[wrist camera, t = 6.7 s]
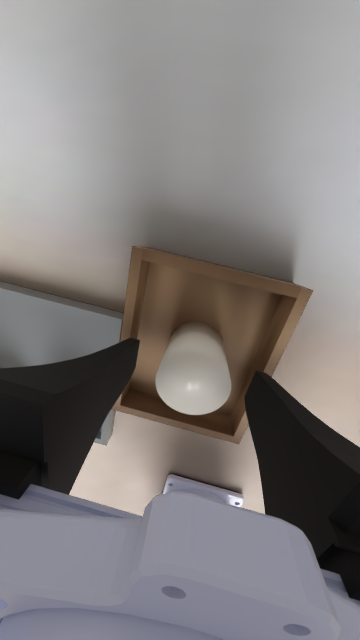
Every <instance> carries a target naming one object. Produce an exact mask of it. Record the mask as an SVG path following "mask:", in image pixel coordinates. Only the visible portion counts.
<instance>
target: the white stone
mask: <svg viewBox="0 0 360 640" xmlns="http://www.w3.org/2000/svg"><path fill="white" fill-rule="evenodd" d="M155 383H156V389H157V392H158V394H159V396H160V397H161V399H162V400H163V401H164V402H165V403H166V404H167V405H168V406H169V407H171V408H172V409H174V410H176V411H178V412H181V413H184V414H189V415H202V414H207V413H211V412H213V411H215V410H217V409H218V408H220V407H221V406H222V405H223V404H224V403H225V402H226V401H227V399H228V397H229V395H230V392H231V379H230V374H229V369H228V364H227V360H226V355H225V350H224V345H223V341H222V338H221V336H220V334H219V333H218V331H217V330H216V329H215V328H214V327H212V326H211V325H209V324H206V323H204V322H198V321H192V322H187V323H184V324H182V325H180V326H179V327H178V328H176V329H175V330H174V332H173V333H172V335H171V337H170V340H169V342H168V345H167V348H166V350H165V353H164V355H163V358H162V361H161V363H160V366H159V369H158V371H157V374H156V379H155Z"/></svg>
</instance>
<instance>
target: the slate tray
mask: <svg viewBox="0 0 360 640" xmlns="http://www.w3.org/2000/svg"><path fill="white" fill-rule="evenodd" d="M123 316H124V313H122V312H118V311H114V310H110V309H106V308H102V307H98V306H94V305H91V304H87V303H83V302H79V301H75V300H71V299H67V298H63V297H60V296H56V295H52V294H48V293H44V292H40V291H36V290H32V289H28V288H25V287H21V286H17V285H13V284H9V283H5V282H1V281H0V368H13V367H27V366H36V365H44V364H50V363H56V362H61V361H66V360H71V359H75V358H79V357H82V356H86V355H89V354H92V353H95V352H97V351H100V350H103V349H105V348H108V347H110V346H112V345H115V344H117V343H119V342H120V340H121V332H122V324H123ZM114 415H115V410H113V409H111V410H110V412H109V414H108V415H107V417H106V419H105V421H104V423H103V425H102V427H101V429H100V430H99V432H98V434H97V436H96V438H95V440H94V442H95V443H99V444H103V445H107V443H108V441H109V439H110V437H111V435H112V430H113V423H114Z"/></svg>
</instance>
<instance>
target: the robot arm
mask: <svg viewBox="0 0 360 640" xmlns="http://www.w3.org/2000/svg"><path fill="white" fill-rule="evenodd" d="M139 344H140V340H138V339H134V338H128V339H126V340H124V341H121V342H119V343H117V344H115V345H112V346H110V347H108V348H105V349H103V350H100V351H97V352H95V353H92V354H89V355H86V356H82V357H79V358H75V359H71V360H66V361H61V362H56V363H50V364H44V365H36V366H27V367H13V368H0V640H360V447H358V446H357V445H355V444H354V443H352V442H351V441H349V440H348V439H346V438H345V437H343V436H342V435H340V434H339V433H337V432H336V431H334V430H333V429H332V428H330V427H329V426H328V425H326V424H325V423H324V422H322V421H321V420H320V419H318V418H317V417H316V416H314V415H313V414H312V413H311V412H310V411H308V410H307V409H306V408H305V407H304V406H303V405H301V404H300V403H299V402H298V401H297V400H296V399H295V398H293V397H292V396H291V395H290V394H289V393H288V392H287V391H286V390H285V389H284V388H283V387H282V386H280V385H279V384H278V383H277V382H276V381H275V380H274V379H273V378H272V377H270V376H269V375H268V374H267V373H264V372H260V371H255V373H254V376H253V378H252V380H251V383H250V385H249V387H248V389H247V392H246V394H245V396H244V400H245V409H246V415H247V419H248V423H249V427H250V431H251V434H252V438H253V442H254V446H255V450H256V454H257V459H258V464H259V470H260V476H261V483H262V491H263V498H264V506H265V514H262V513H258V512H255V511H251V510H248V509H244V508H241V505H242V504H243V502H244V498H243V495H242V494H239V493H236V492H232V491H229V490H225V489H222V488H218V487H215V486H211V485H208V484H204V483H201V482H197V481H194V480H190V479H187V478H183V477H180V476H176V475H172V474H171V475H168V477H167V480H166V483H165V486H164V489H163V493H162V494H161V495H157V496H156V497H154V498H153V499H152V500H151V502H150V503H149V504H148V505H147V506H146V507H145V510H144V514H143V517H142V516H139V515H136V514H132V513H129V512H125V511H122V510H118V509H115V508H112V507H108V506H105V505H101V504H98V503H95V502H91V501H88V500H84V499H81V498H77V497H74V496H71V495H69V493H70V491H71V489H72V486H73V484H74V482H75V480H76V478H77V476H78V474H79V471H80V469H81V467H82V465H83V463H84V461H85V459H86V457H87V455H88V453H89V451H90V448H91V446H92V444H93V442H94V440H95V438H96V436H97V434H98V432H99V430H100V429H101V427H102V425H103V423H104V421H105V419H106V417H107V415H108V414H109V412H110V410H111V409H112V407H113V406H114V404H115V403H116V401H117V399H118V398H119V396H120V395H121V393H122V392H123V390H124V389H125V387H126V385H127V384H128V382H129V381H130V378H131V376H132V374H133V372H134V370H135V368H136V362H137V356H138V350H139Z"/></svg>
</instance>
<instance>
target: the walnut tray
mask: <svg viewBox="0 0 360 640" xmlns="http://www.w3.org/2000/svg"><path fill="white" fill-rule="evenodd" d="M312 292H313V290H311V289H308V288H305V287H302V286H300V285H297V284H294V283H290V282H286V281H282V280H278V279H274V278H270V277H266V276H262V275H258V274H254V273H250V272H245V271H241V270H237V269H233V268H229V267H225V266H221V265H217V264H213V263H209V262H205V261H201V260H196V259H192V258H188V257H184V256H180V255H176V254H172V253H168V252H164V251H160V250H156V249H152V248H147V247H138V246H132V254H131V261H130V269H129V277H128V285H127V293H126V301H125V308H124V316H123V324H122V332H121V340H120V342H121V341H124V340H126V339H128V338H134V339H138V340H140V344H139V350H138V356H137V362H136V368H135V370H134V372H133V374H132V376H131V378H130V381H129V382H128V384H127V385H126V387H125V389H124V390H123V392H122V393H121V395H120V396H119V398H118V399H117V401H116V403H115V404H114V406H113V407H112V409H113V410H117V411H120V412H124V413H127V414H131V415H135V416H138V417H142V418H146V419H149V420H153V421H157V422H160V423H164V424H167V425H171V426H175V427H178V428H182V429H186V430H189V431H193V432H197V433H200V434H204V435H207V436H211V437H215V438H218V439H222V440H226V441H229V442H233V443H237V444H239V443H240V441H241V439H242V437H243V435H244V433H245V430H246V428H247V426H248V424H249V423H248V419H247V415H246V409H245V400H244V396H245V394H246V392H247V389H248V387H249V385H250V383H251V380H252V378H253V376H254V373H255V371H260V372H264V373H267V374H268V375H269V376H270V377H272V375H273V373H274V371H275V368H276V366H277V364H278V362H279V360H280V358H281V356H282V354H283V352H284V350H285V348H286V346H287V344H288V342H289V340H290V337H291V335H292V333H293V331H294V329H295V327H296V325H297V323H298V321H299V319H300V317H301V315H302V313H303V311H304V309H305V306H306V304H307V302H308V300H309V298H310V296H311V294H312ZM192 321H198V322H204V323H206V324H209V325H211V326H212V327H214V328H215V329H216V330H217V331H218V333H219V334H220V336H221V338H222V341H223V345H224V350H225V355H226V360H227V364H228V369H229V374H230V379H231V392H230V395H229V397H228V399H227V401H226V402H225V403H224V404H223V405H222V406H221V407H220V408H218V409H217V410H215V411H213V412H211V413H207V414H202V415H189V414H184V413H181V412H178V411H176V410H174V409H172V408H171V407H169V406H168V405H167V404H166V403H165V402H164V401H163V400H162V399H161V397H160V396H159V394H158V392H157V389H156V383H155V379H156V374H157V371H158V369H159V366H160V363H161V361H162V358H163V355H164V353H165V350H166V348H167V345H168V342H169V340H170V337H171V335H172V333H173V332H174V330H175V329H176V328H178V327H179V326H180V325H182V324H184V323H187V322H192Z"/></svg>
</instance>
